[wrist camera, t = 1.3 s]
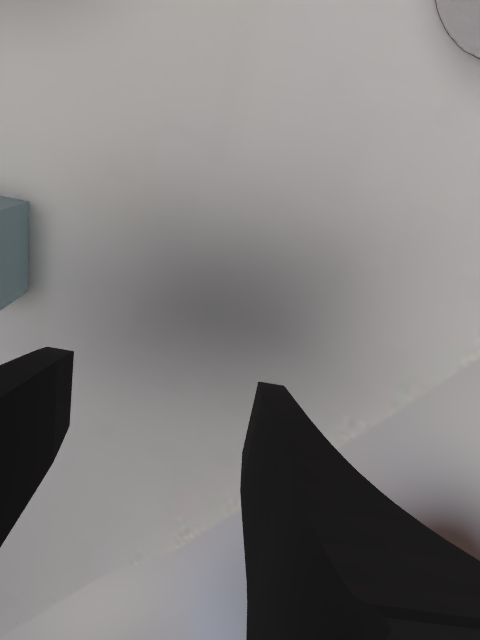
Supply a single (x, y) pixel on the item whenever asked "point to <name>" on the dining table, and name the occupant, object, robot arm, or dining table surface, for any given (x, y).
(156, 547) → the dining table surface
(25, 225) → the pale blue rectangular block
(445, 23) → the whipped cream cup
